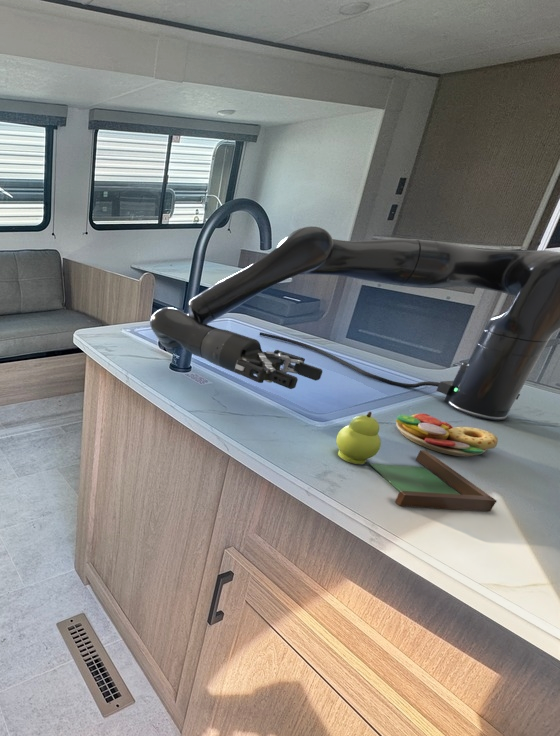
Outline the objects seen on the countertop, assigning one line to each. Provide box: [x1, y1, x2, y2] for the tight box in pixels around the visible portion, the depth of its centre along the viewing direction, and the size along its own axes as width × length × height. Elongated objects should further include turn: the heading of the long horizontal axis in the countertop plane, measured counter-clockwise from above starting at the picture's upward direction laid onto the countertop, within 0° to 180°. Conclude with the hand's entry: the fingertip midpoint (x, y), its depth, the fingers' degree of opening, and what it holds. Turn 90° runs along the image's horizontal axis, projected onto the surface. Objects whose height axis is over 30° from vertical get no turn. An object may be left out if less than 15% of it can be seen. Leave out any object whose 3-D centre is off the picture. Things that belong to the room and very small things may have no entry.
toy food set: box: [395, 413, 499, 457], centre depth 79 cm, size 13×13×3 cm
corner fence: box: [369, 449, 498, 512], centre depth 67 cm, size 13×13×2 cm
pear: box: [335, 411, 382, 465], centre depth 71 cm, size 6×6×9 cm
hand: (308, 379), depth 76 cm, fingers open, 8 cm apart
